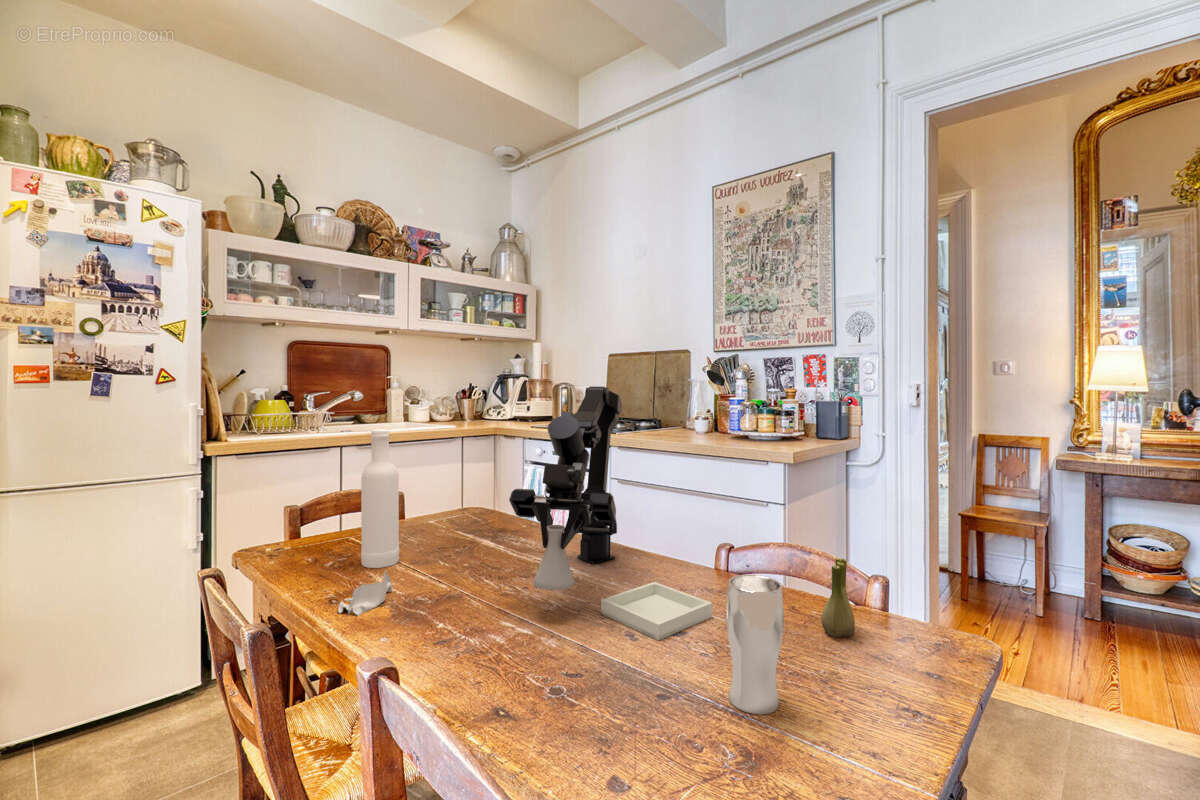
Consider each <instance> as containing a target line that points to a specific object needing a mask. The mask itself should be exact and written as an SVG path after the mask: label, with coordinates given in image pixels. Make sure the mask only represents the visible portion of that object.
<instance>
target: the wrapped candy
mask: <svg viewBox="0 0 1200 800" xmlns="http://www.w3.org/2000/svg"><path fill="white" fill-rule="evenodd" d="M382 578H383V579H382V581H378V582H374V583H373V582H372V583H367V584H361V585H359V586H358V587H355V588H354V589H353V592H352V595H351V597H347V598H344V601H345V602H349V604H348V603H344V601H343V600H342V601H341V600H340V602H339V604H338V608H337V609H338V610H337V611H336V614H338V613H339V614H342V613H343V612H344V610H347V615H350V614H351V613H353V614H355V615H356V616H357V617H359V616H361V615H362V614H364V613H366V612H368V611H370V610H373V609H375V608H377V607H378V606H379V605H381V604H382V603H383V602H384V601H385V600H386V596H387V592H389V593H391V592H392V591H393V584H392V583H391V581H392V578H391V577H390V575H389V574H387V569H386V570H385V569H384V570H383V577H382Z"/></svg>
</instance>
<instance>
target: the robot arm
mask: <svg viewBox="0 0 1200 800" xmlns="http://www.w3.org/2000/svg"><path fill="white" fill-rule="evenodd" d="M622 405H623V404H622V400H621V397H620V396H619V395H618V394H617V393H615V392H613V391H610V389H609V388H608V387H606V386H589V387H586V388H585V393H584V397H583V399H582V401H581V403H580V405H579V407H578V409H577V411H576V412H575V413H574V412H573V411H562V412H561V414H560V416H558V417H554V419H552V420H551V421H550V422H549V423H548V425H547V433H548V436H549V438H550V441H551V445H552V448H553V451H554V454H555V455H556V456H558V460H557V463H556V464H544V468H543V474H542V475H543V476H542V484H544V485H545V488H544V489H545V493H546V494H548V495H546V494H536V492H535V489H533V488H532V489H531V488H530V489H529V488H528V489H527V488H515V489H513V490H512V492H511V493H510V496H509V500H508V501H509V502H510V505H511V507H512V509H513V511H514V515H515V516H517V517H519V518H533V519H534V518H536V521H538V522H540V530H541V541H542V542H541V543H542V546H543V549H546V547H547V542H548V530H547V526H549V525H554V519H553V516H552V514H551V512H552V511H553V510H557V511H568V516H567V517H568V518H567V519H566V520H567V521H566V523H565V526H564V527H565V530H564V532H563V537H562V542H561V549H566V547H567V546H568V545H569V544H570V542H571V541H572V540H573V538H574V537H575V536H576V535H577V534H581V539H580V543H579V544H580V545H579V546H580V547H579V549H580V550H579V551H580V553H579V554H578V555H576V557H577V559H580V560H583V561H585V562H588V563H590V564H593V565H595V564H600V563H603V562H607V561H608V562H609V561H611V560H614V559H616V556H615V555H613V554H611V536H613V535H616V534H617V533H618V523H617V516H616V514H617V507H616V504H615V500H614V495H613V494H612V493H611V492H607V485H608V484H607V483H608V475H609V474H608V473H609V472H608V471H609V461H610V460H609V458H610V448H611V447H610V446H611V436H612V431H614V429H615V428H616V426H617V425H618V424H619V420H620V419H619V418H620V415H622V410H623V408H622V407H623V406H622ZM587 449H590V453H589V451H588V450H587ZM588 464H589V465H588ZM587 468H588V476H587V487H586V489H585V484H584V483H585V479H586V474H587ZM584 489H585V490H584Z"/></svg>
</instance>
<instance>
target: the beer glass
mask: <svg viewBox="0 0 1200 800" xmlns="http://www.w3.org/2000/svg"><path fill="white" fill-rule="evenodd" d="M727 581H728V586H727V596H726V610H725V611H726V613H725V616H726V621H725V622H726V632H727V637H728V638H727V639H728V645H729V646H728V647H729V650H730V651H729V652H730V655H731V656H730V657H731V663H732V671H731V672H732V675H731V682H730V685H729V693H728V699H729V701H730V703H731V704H732V706H734V707H735V708H737V710H740V711H742V712H744V713H748V714H752V715H760V716H761V715H769V714H772V713H773V712H776V711H777V710H778V708H779V707H780V706H779V705H780V699H779V694H778V693H779V692H778V688H777V667H778V662H779V661H778V660H779V657H780V651H781V647H782V642H783V636H784V635H783V633H784V622H785V621H784V620H785V616H784V614H785V613H784V597H783V584H782V583H781V582H780V581H779V580H776V579H775V578H771V577H768V576H763V575H760V574H738V575H735V576H731V577H730V578H729V579H728V580H727Z"/></svg>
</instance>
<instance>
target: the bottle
mask: <svg viewBox="0 0 1200 800" xmlns="http://www.w3.org/2000/svg"><path fill="white" fill-rule="evenodd" d="M370 432H371V435H370V439H371V442H370V443H371V448H370V449H371V455H370V456H371V461H370V462H369V463H368V464H367V465H366V466H365V467H364V469H363V470H362V471H363V472H362V474H361V477H360V478H361V481H360V482H361V483H360V485H361V488H360V489H361V495H360V496H361V500H360V503H361V512H360V513H361V517H360V518H361V522H360V523H361V550H360V559H361V565H362V567H364V568H367V569H381V568H387V567H392V566H394V565H396V564H397V563H398V562H399V558H400V557H399V556H400V544H399V541H400V540H399V538H400V537H399V535H400V532H399V531H400V530H399V526H400V523H399V521H400V519H399V518H400V517H399V516H400V514H399V511H400V510H399V508H400V507H399V504H400V503H399V502H400V501H399V499H400V497H399V495H400V494H399V493H400V492H399V481H400V480H399V479H400V478H399V472H398V470H397V467H396V465H395V464H394V463H392V462H391V461H390V449H389V448H390V447H389V446H390V445H389V444H390V443H389V442H390V441H389V440H390V431H389V429H388V428H377V429H372V430H371V431H370Z"/></svg>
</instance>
